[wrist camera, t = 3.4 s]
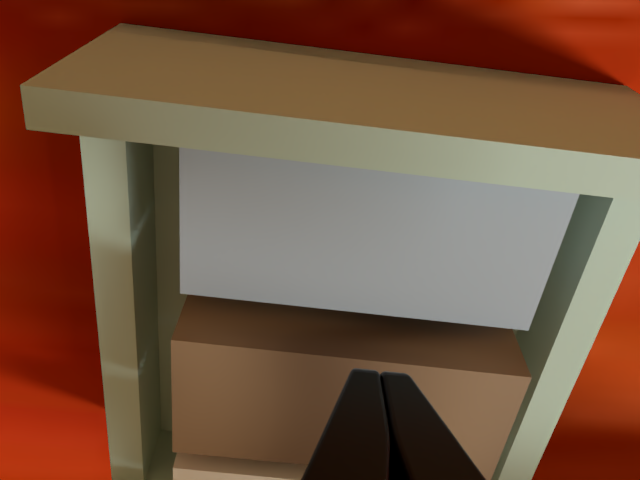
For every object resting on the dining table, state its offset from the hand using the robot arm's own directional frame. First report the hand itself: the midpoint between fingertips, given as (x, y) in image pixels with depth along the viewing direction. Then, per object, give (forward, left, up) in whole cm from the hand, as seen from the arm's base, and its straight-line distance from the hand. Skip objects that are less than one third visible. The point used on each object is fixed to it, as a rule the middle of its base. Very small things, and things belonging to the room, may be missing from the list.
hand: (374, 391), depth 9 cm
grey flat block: (0, 0, -7) cm, 7 cm away
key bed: (0, +4, -9) cm, 10 cm away
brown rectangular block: (0, +4, -6) cm, 7 cm away
